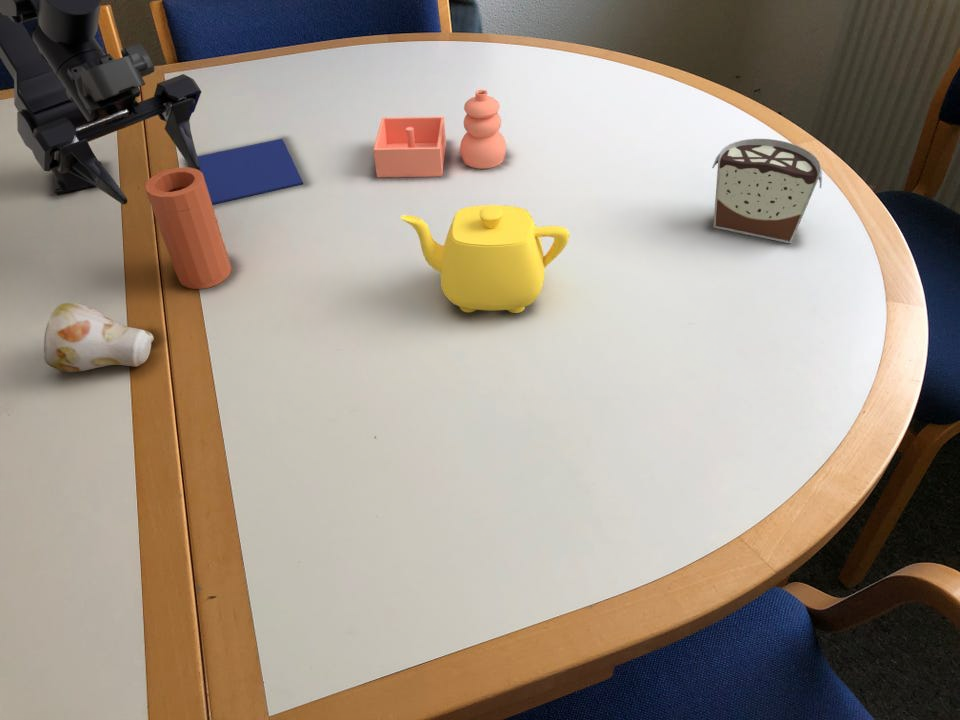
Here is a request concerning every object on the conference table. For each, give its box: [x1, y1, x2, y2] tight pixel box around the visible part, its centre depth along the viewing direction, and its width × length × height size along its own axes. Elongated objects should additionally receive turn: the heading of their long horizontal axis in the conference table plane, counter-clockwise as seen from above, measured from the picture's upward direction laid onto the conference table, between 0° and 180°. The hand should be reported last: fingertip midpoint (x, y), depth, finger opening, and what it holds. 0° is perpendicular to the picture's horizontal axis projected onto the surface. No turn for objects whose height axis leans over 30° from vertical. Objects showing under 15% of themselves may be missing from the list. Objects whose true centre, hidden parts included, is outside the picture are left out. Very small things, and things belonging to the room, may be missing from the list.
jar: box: [144, 166, 232, 290], centre depth 91 cm, size 6×6×12 cm
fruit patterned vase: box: [43, 302, 155, 373], centre depth 82 cm, size 8×10×10 cm
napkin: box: [188, 138, 304, 205], centre depth 113 cm, size 14×14×1 cm
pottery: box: [373, 89, 507, 178], centre depth 110 cm, size 18×10×10 cm, turn 88°
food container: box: [711, 138, 823, 244], centre depth 96 cm, size 12×6×10 cm, turn 65°
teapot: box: [400, 204, 570, 314], centre depth 87 cm, size 18×11×11 cm, turn 86°
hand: (163, 186), depth 90 cm, fingers open, 9 cm apart
